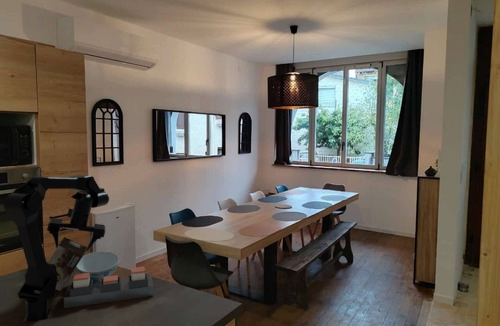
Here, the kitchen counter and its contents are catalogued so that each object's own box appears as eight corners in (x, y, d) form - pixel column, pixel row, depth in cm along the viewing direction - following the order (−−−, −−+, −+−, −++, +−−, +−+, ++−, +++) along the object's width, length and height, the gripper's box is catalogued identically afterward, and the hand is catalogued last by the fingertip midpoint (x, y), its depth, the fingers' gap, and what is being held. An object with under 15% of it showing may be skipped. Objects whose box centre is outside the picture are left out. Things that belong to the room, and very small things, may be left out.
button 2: (117, 288, 120) (117, 279, 120) (103, 290, 118) (103, 281, 118) (117, 283, 124) (117, 275, 124) (104, 285, 122) (103, 276, 122)
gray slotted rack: (153, 295, 123) (153, 279, 123) (64, 308, 113) (63, 290, 113) (151, 284, 132) (151, 269, 132) (68, 295, 123) (67, 278, 122)
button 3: (88, 286, 117) (88, 277, 116) (73, 288, 115) (73, 279, 115) (89, 281, 121) (89, 272, 121) (75, 282, 119) (74, 274, 119)
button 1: (145, 279, 123) (145, 270, 123) (131, 281, 121) (131, 272, 121) (144, 274, 127) (144, 266, 127) (131, 276, 125) (131, 268, 125)
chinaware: (127, 275, 139) (127, 258, 137) (96, 295, 126) (95, 276, 124) (100, 264, 145) (99, 247, 143) (68, 282, 132) (66, 264, 130)
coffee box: (65, 281, 132) (88, 247, 130) (60, 291, 126) (83, 256, 124) (42, 270, 129) (64, 236, 127) (35, 280, 123) (58, 244, 121)
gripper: (108, 206, 138) (99, 242, 140) (55, 198, 130) (46, 236, 132) (109, 216, 128) (99, 255, 130) (51, 208, 120) (42, 250, 122)
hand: (72, 249), depth 129 cm, fingers open, 9 cm apart
